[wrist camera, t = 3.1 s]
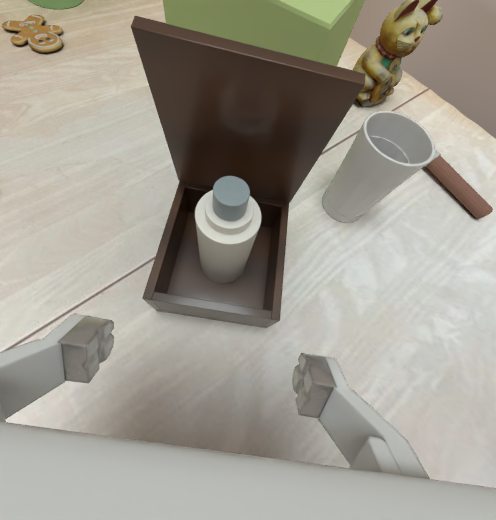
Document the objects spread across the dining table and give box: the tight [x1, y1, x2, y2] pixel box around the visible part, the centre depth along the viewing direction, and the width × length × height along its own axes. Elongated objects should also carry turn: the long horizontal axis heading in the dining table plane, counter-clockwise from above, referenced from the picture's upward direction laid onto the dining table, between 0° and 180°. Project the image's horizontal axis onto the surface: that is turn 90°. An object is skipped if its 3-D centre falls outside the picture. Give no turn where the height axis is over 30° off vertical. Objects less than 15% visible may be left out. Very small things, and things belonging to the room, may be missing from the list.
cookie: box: [2, 15, 63, 52], centre depth 40 cm, size 8×1×10 cm
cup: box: [322, 111, 435, 222], centre depth 30 cm, size 8×8×12 cm
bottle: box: [195, 176, 261, 283], centre depth 23 cm, size 5×5×14 cm
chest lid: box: [131, 16, 366, 203], centre depth 20 cm, size 14×13×1 cm
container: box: [163, 0, 365, 66], centre depth 32 cm, size 19×16×20 cm
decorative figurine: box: [353, 0, 443, 107], centre depth 41 cm, size 10×8×15 cm
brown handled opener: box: [425, 151, 493, 218], centre depth 40 cm, size 20×6×3 cm, turn 34°
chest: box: [143, 181, 289, 328], centre depth 27 cm, size 14×13×6 cm
